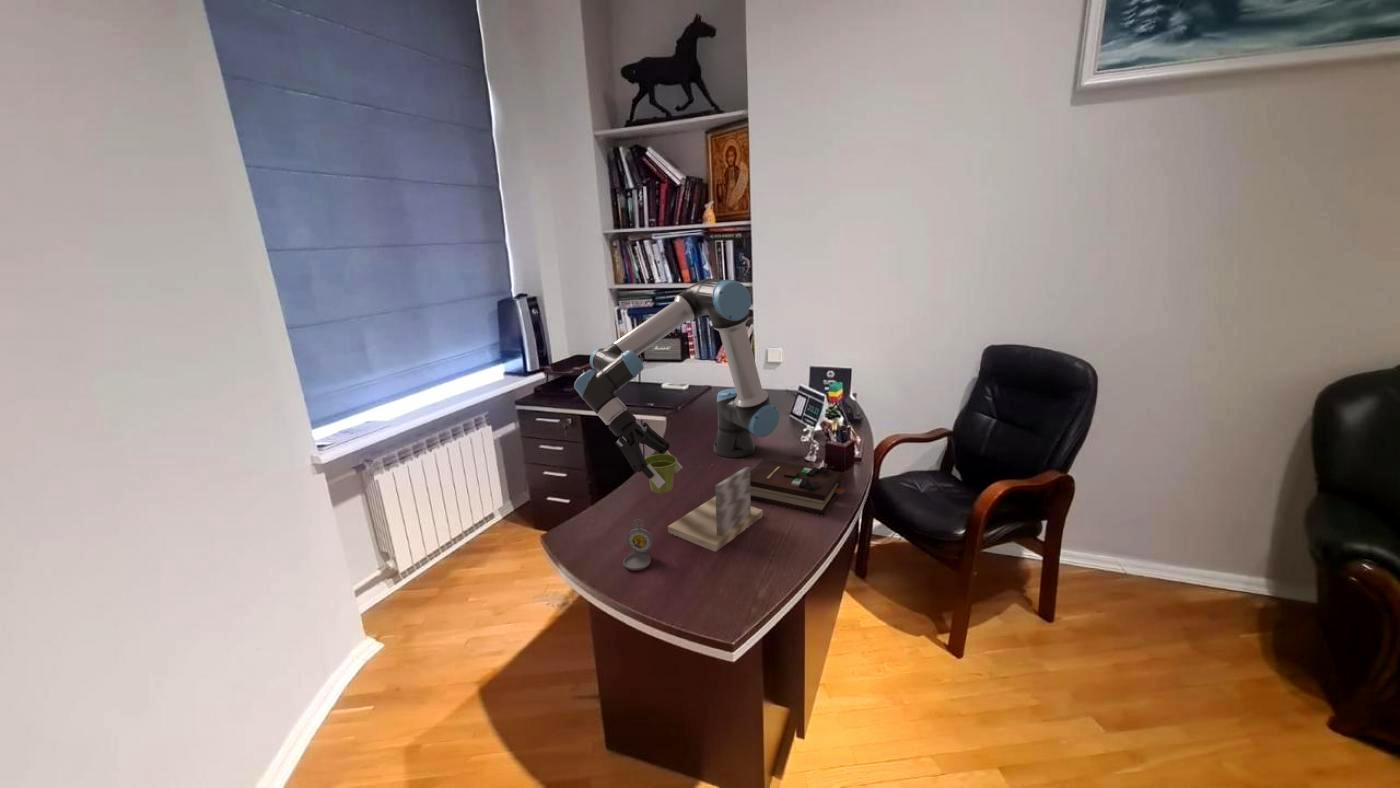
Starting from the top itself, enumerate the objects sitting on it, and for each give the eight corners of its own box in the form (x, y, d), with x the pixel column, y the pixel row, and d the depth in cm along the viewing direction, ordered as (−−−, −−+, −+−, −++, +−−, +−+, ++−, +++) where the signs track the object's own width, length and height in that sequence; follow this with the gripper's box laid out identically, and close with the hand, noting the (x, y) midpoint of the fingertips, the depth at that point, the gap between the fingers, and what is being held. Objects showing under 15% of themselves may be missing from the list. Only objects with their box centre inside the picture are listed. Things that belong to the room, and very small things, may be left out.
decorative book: (758, 453, 178) (850, 469, 164) (758, 475, 180) (849, 492, 166) (732, 476, 162) (831, 496, 148) (732, 499, 164) (831, 521, 150)
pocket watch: (628, 574, 129) (624, 537, 126) (618, 556, 136) (615, 520, 133) (660, 565, 132) (658, 528, 129) (649, 548, 139) (647, 513, 136)
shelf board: (717, 501, 163) (715, 451, 158) (762, 516, 153) (762, 463, 148) (668, 532, 146) (664, 478, 142) (715, 552, 137) (713, 494, 132)
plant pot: (647, 481, 157) (644, 454, 155) (679, 480, 157) (677, 453, 154) (643, 497, 148) (640, 467, 146) (677, 496, 148) (675, 466, 145)
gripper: (631, 413, 164) (681, 469, 161) (587, 439, 145) (642, 502, 143) (645, 398, 160) (696, 455, 158) (601, 422, 141) (658, 487, 139)
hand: (670, 477), depth 150 cm, fingers closed on plant pot, 9 cm apart
